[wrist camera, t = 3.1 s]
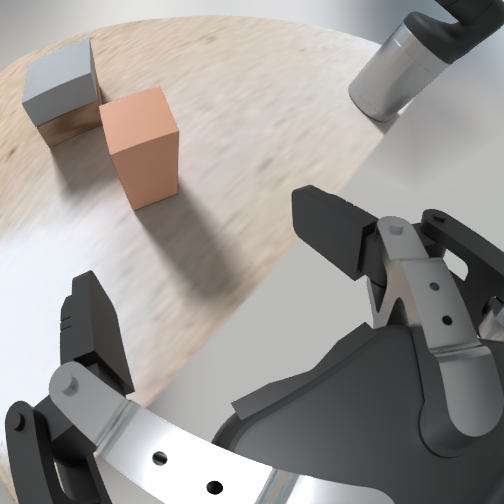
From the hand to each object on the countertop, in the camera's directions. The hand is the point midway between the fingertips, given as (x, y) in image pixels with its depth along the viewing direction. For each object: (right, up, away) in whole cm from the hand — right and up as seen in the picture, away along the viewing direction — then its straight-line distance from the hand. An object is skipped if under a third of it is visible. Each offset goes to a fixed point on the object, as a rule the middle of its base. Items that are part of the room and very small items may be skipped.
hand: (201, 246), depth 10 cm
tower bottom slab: (-21, +18, +16) cm, 32 cm away
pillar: (-9, +7, +17) cm, 21 cm away
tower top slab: (-20, +19, +12) cm, 30 cm away
